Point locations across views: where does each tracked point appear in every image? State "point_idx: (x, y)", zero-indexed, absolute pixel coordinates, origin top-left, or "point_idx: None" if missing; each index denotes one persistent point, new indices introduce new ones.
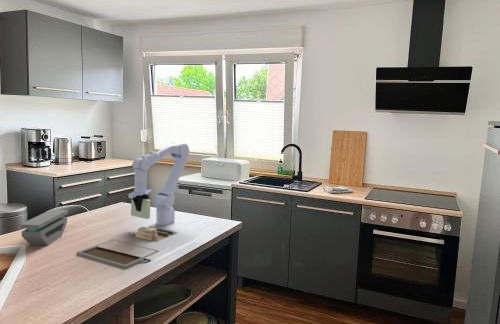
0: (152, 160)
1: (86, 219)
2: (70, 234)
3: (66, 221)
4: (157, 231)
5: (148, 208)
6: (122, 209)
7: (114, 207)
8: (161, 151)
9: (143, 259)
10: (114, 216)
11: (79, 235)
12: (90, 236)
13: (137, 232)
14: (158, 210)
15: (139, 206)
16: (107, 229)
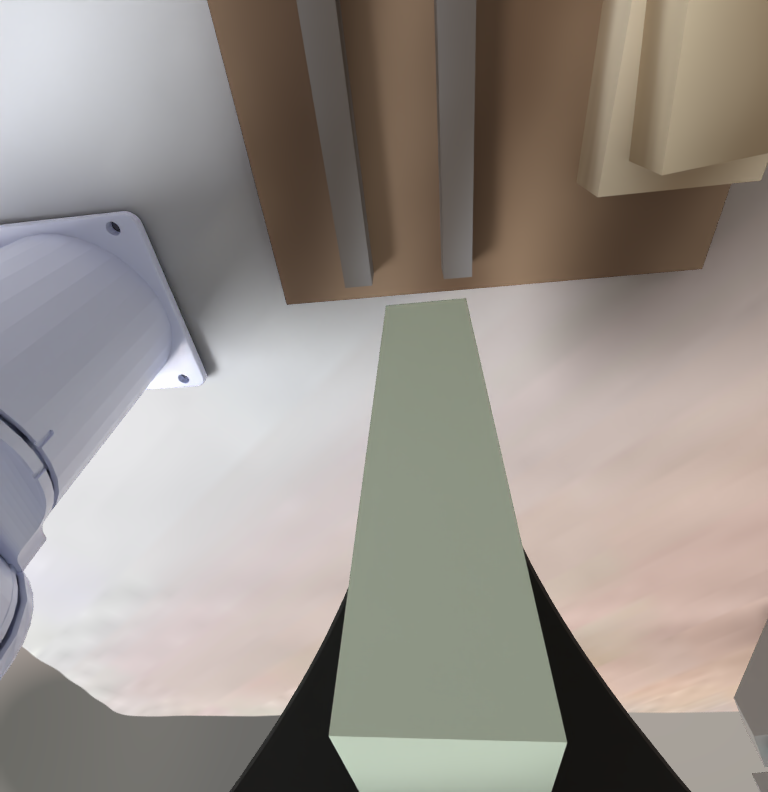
0: None
1: None
2: (719, 596)
3: (748, 701)
4: None
5: (454, 431)
6: (182, 676)
7: (199, 702)
8: None
9: None
10: (296, 641)
11: (726, 562)
12: (730, 513)
13: (741, 162)
14: (56, 444)
15: (539, 609)
16: (530, 535)
